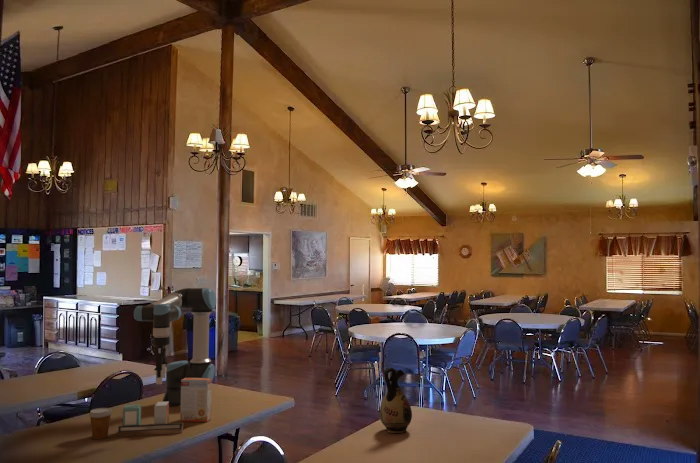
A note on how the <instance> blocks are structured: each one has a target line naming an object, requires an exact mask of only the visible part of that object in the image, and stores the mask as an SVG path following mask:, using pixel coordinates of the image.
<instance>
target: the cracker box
mask: <svg viewBox="0 0 700 463" xmlns="http://www.w3.org/2000/svg"><path fill="white" fill-rule="evenodd" d="M211 418H212V382H211V378H184V379H182V380H181V406H180V418H179V420H180V422H187V423H188V422H190V423H191V422H197V423H207V422H209V421H210V420H211Z"/></svg>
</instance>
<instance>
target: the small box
mask: <svg viewBox="0 0 700 463" xmlns="http://www.w3.org/2000/svg"><path fill="white" fill-rule="evenodd" d="M153 410H154V414H153V416H154V418H153V424H168V423H170V420H169V418H170V417H169V416H170V415H169V414H170V406H169V401H167V402H162V401H156V404H155V405H154V409H153Z"/></svg>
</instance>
